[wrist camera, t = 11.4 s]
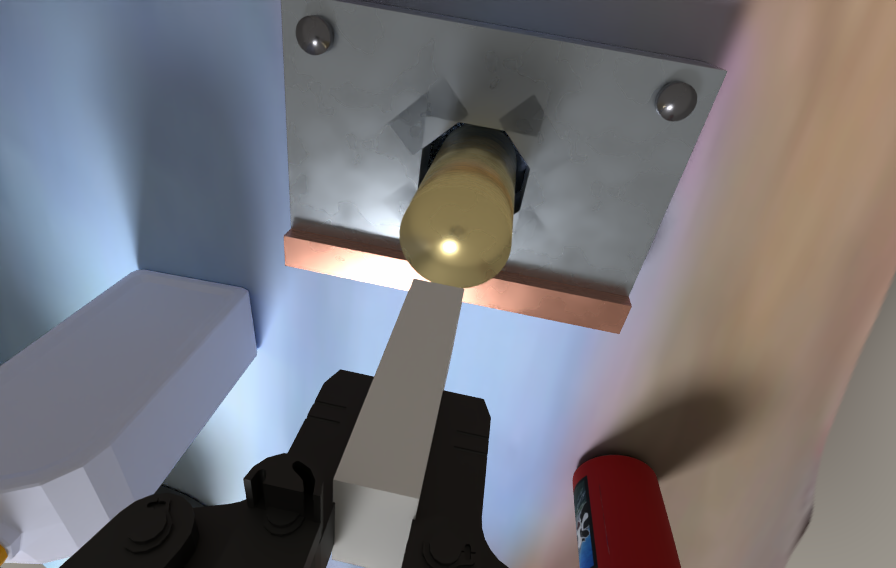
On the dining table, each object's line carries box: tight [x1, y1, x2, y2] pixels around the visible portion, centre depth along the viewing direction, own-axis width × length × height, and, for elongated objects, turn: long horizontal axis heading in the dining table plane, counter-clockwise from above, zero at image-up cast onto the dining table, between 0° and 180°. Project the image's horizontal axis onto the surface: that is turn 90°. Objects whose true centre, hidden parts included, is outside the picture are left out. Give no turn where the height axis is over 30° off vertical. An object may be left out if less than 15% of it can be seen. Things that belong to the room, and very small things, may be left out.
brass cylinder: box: [399, 124, 517, 288], centre depth 23 cm, size 4×4×10 cm
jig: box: [281, 0, 727, 334], centre depth 25 cm, size 20×14×4 cm
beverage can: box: [573, 455, 681, 568], centre depth 34 cm, size 7×7×12 cm
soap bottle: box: [0, 270, 257, 566], centre depth 27 cm, size 9×7×23 cm
